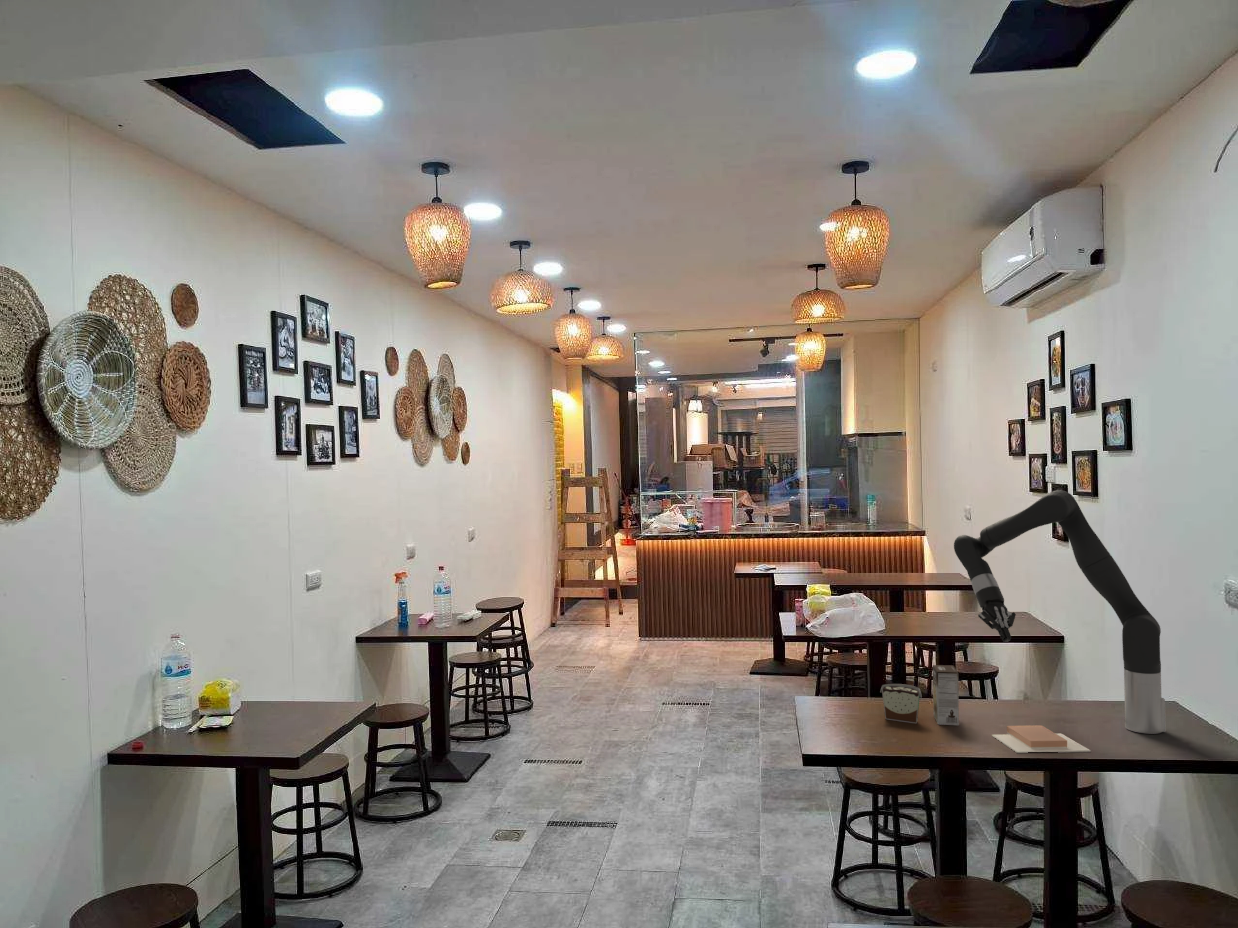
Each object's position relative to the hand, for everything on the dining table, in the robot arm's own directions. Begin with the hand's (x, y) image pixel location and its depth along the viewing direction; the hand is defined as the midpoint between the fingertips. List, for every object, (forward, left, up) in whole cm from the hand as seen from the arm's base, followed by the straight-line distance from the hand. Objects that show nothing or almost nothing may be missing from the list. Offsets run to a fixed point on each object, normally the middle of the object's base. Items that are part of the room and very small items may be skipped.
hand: (1007, 640), depth 264 cm
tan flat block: (+3, +16, -22) cm, 28 cm away
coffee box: (+20, +2, -24) cm, 31 cm away
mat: (+3, +25, -24) cm, 35 cm away
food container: (+32, -1, -24) cm, 40 cm away
